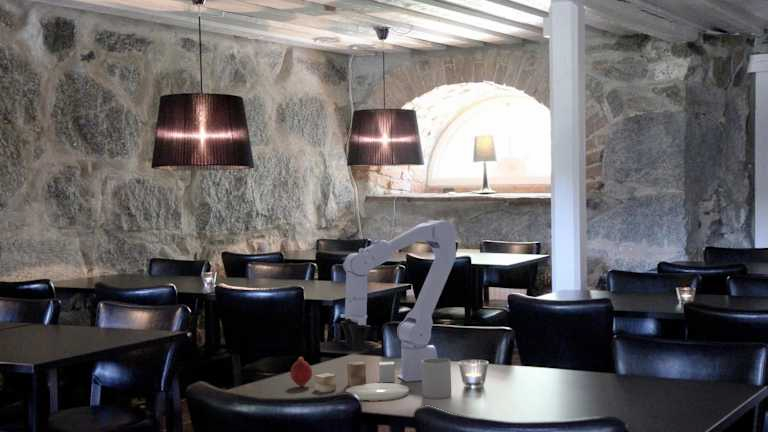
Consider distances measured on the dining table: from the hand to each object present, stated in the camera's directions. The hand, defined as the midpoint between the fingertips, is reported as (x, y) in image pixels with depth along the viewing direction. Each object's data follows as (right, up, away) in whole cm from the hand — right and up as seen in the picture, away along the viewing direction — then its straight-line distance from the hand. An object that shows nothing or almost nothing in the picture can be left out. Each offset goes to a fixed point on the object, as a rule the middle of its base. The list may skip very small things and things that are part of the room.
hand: (354, 349), depth 262 cm
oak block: (-7, -10, -4) cm, 13 cm away
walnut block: (+1, -10, 0) cm, 10 cm away
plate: (+6, -10, -12) cm, 16 cm away
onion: (-14, -10, +1) cm, 18 cm away
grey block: (+9, -9, +5) cm, 14 cm away
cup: (+22, -10, -15) cm, 28 cm away
